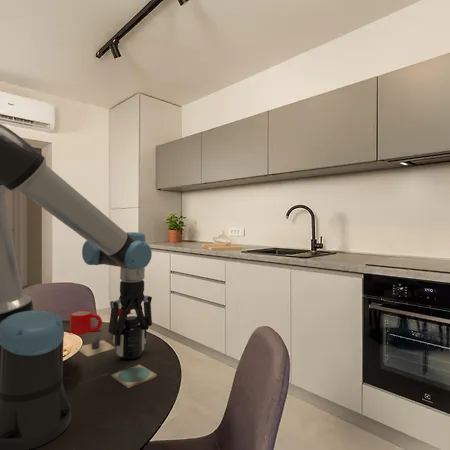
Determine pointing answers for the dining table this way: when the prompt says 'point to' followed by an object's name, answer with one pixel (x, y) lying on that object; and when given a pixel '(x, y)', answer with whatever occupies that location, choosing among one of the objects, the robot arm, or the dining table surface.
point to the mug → (83, 322)
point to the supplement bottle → (132, 338)
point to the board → (95, 351)
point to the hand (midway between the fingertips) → (130, 351)
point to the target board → (134, 376)
